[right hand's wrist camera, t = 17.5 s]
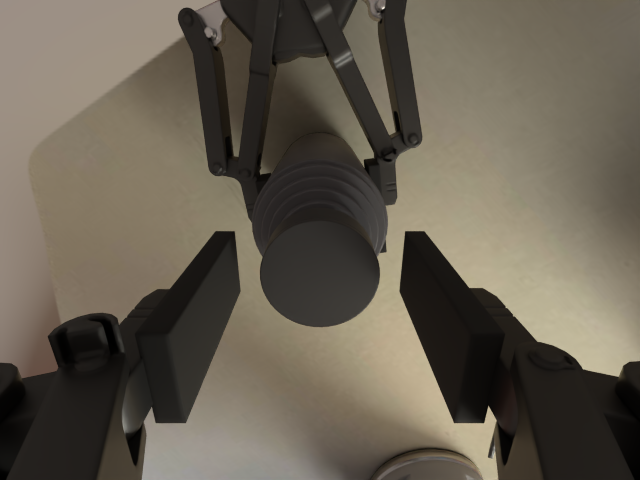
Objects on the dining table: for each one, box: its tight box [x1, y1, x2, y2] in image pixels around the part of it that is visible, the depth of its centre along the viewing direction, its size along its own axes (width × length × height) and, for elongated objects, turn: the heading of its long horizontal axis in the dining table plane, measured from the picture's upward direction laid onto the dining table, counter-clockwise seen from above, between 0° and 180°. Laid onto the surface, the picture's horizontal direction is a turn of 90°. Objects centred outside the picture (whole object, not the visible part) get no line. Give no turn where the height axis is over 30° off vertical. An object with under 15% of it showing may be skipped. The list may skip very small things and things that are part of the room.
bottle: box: [252, 133, 388, 257], centre depth 23 cm, size 7×7×19 cm
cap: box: [260, 208, 380, 327], centre depth 14 cm, size 4×4×2 cm
